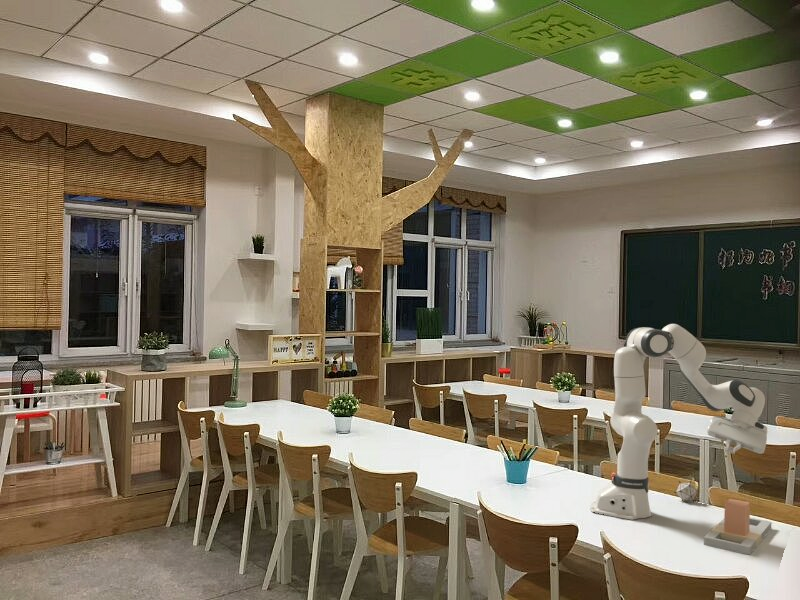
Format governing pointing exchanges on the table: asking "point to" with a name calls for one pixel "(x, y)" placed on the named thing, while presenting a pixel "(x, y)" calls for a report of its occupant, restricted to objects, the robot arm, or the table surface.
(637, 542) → the table surface
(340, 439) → the table surface
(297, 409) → the table surface
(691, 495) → the grey faceted ball
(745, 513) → the block
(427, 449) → the table surface
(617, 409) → the robot arm
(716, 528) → the box
